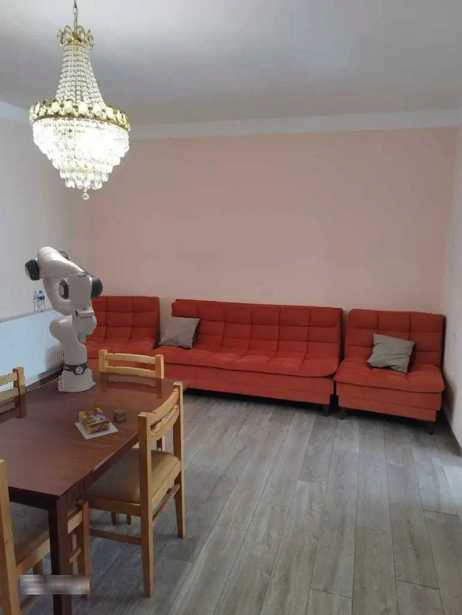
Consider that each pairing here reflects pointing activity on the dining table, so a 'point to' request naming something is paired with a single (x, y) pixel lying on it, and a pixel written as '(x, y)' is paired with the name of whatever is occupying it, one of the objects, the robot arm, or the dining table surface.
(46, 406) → the dining table surface
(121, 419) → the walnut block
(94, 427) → the candy box
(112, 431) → the mat
